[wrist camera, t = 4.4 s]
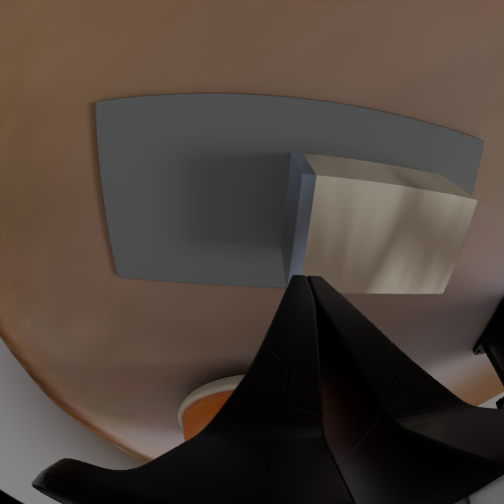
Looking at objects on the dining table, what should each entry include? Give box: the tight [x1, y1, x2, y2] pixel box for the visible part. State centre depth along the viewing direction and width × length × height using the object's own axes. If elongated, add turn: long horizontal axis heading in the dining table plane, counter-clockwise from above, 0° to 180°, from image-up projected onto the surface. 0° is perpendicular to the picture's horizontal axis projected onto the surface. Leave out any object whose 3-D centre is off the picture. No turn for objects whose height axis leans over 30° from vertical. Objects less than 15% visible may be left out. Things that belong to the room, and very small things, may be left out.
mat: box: [95, 94, 484, 288], centre depth 14 cm, size 10×20×1 cm, turn 87°
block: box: [281, 152, 478, 294], centre depth 13 cm, size 5×4×8 cm
